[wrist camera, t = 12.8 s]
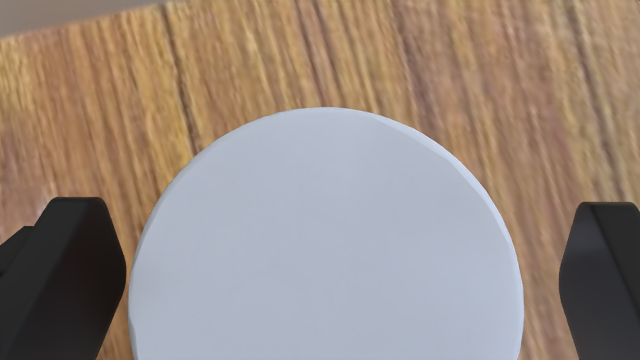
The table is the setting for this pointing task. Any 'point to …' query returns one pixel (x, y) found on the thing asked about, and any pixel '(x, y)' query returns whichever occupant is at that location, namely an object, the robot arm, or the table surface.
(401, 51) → the table surface
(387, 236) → the pill bottle
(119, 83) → the table surface
